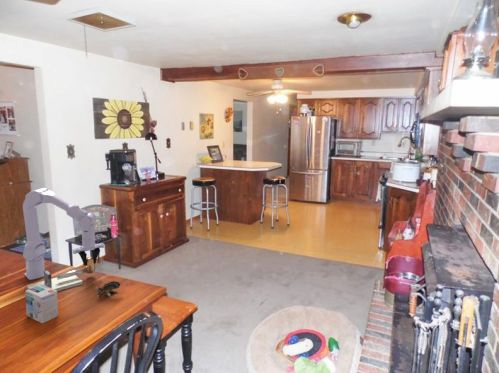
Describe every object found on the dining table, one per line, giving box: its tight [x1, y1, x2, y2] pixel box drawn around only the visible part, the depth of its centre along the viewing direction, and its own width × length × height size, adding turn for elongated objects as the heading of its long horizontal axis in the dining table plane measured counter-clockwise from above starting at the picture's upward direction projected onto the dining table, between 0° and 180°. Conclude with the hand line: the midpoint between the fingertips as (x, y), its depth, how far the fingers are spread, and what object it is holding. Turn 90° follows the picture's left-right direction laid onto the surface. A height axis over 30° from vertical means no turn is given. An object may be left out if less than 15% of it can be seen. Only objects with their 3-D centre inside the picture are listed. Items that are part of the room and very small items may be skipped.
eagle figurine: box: [95, 280, 121, 300], centre depth 151 cm, size 8×7×9 cm
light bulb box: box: [24, 285, 59, 324], centre depth 133 cm, size 11×7×11 cm, turn 62°
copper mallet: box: [56, 256, 95, 280], centre depth 164 cm, size 4×17×7 cm, turn 137°
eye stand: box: [26, 269, 84, 292], centre depth 158 cm, size 12×20×8 cm, turn 137°
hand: (89, 264), depth 169 cm, fingers closed on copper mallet, 4 cm apart
